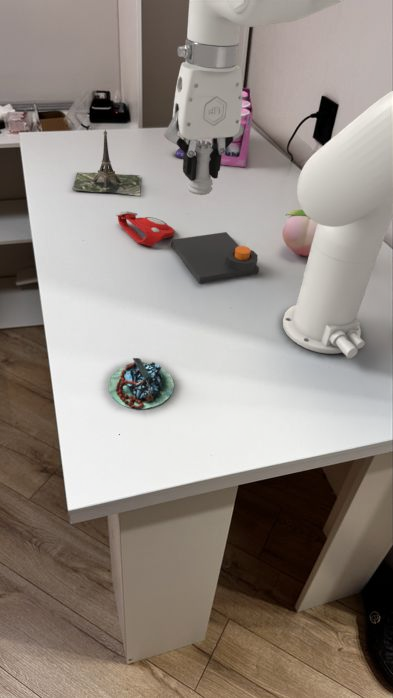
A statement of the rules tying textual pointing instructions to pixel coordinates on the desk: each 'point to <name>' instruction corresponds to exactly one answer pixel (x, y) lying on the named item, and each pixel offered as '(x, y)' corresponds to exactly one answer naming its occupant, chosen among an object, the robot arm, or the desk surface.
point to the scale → (213, 257)
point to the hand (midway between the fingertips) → (200, 175)
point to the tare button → (242, 253)
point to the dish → (141, 385)
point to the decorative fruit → (299, 232)
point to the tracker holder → (145, 228)
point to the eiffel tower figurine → (107, 178)
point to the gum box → (239, 146)
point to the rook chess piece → (201, 170)
